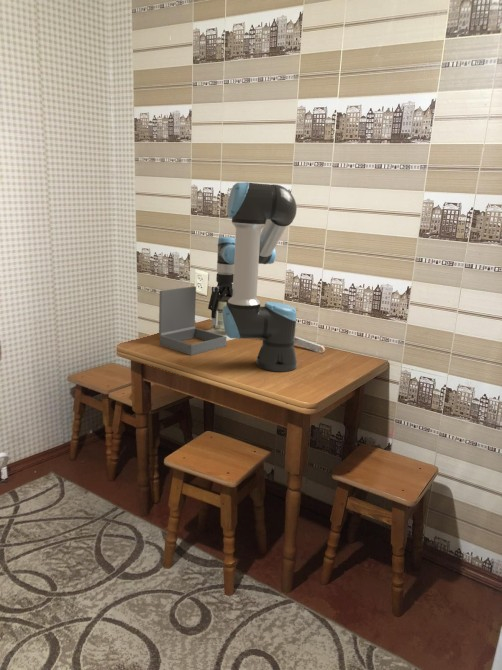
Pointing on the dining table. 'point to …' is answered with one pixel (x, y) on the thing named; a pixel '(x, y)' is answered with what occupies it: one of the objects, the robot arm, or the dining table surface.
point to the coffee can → (220, 313)
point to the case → (183, 323)
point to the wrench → (308, 344)
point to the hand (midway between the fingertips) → (222, 323)
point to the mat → (220, 334)
